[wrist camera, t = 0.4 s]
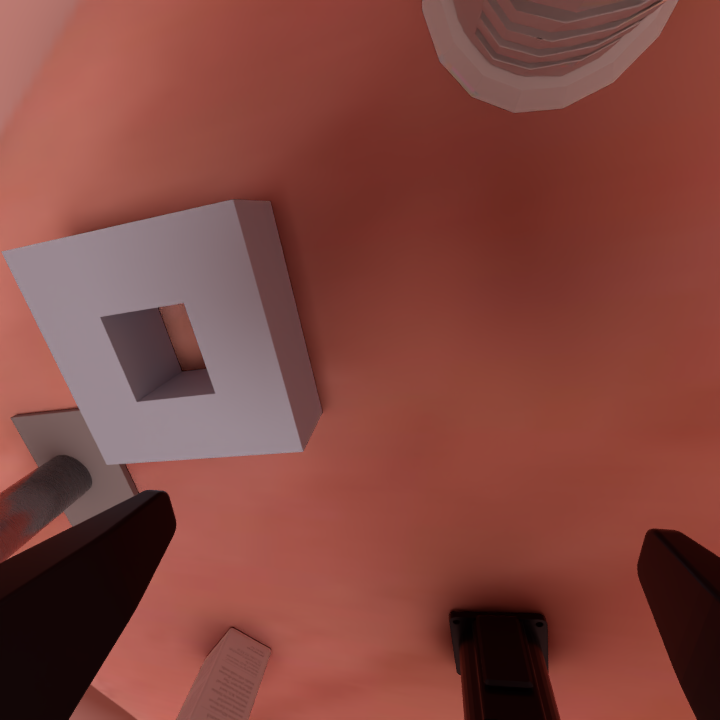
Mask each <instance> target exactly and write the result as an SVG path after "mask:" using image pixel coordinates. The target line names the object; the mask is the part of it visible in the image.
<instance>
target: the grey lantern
mask: <svg viewBox="0 0 720 720" xmlns="http://www.w3.org/2000/svg"><path fill="white" fill-rule="evenodd" d="M677 2H678V0H422V11H423V14H424V17H425V20H426V23H427V26H428V29H429V32H430V35H431V38H432V41H433V43H434V46H435V49H436V52H437V55H438V58H439V61H440V62H441V64H442V65H443V66H444V67H445V68H446V69H447V70H448V71H449V72H450V73H451V75H452V76H453V77H454V78H455V79H456V80H457V81H458V82H459V83H460V85H461V86H462V87H463V88H464V89H465V90H466V91H467V92H468V93H469V94H470V96H471V97H474V98H476V99H479V100H481V101H484V102H487V103H489V104H492V105H494V106H497V107H500V108H502V109H505V110H508V111H510V112H513V113H519V112H530V111H541V110H552V109H563V108H565V107H567V106H569V105H571V104H573V103H574V102H576V101H578V100H580V99H582V98H584V97H586V96H588V95H590V94H592V93H594V92H596V91H598V90H600V89H602V88H604V87H606V86H608V85H609V84H611V83H613V82H614V81H615V80H616V79H617V78H618V77H619V76H620V75H621V74H622V73H623V72H624V71H625V70H626V69H627V68H628V67H629V66H630V65H631V64H632V63H633V62H634V61H635V60H636V59H637V58H638V57H639V56H640V55H641V54H642V53H643V52H644V51H645V50H646V49H647V48H648V47H649V46H650V45H651V44H652V43H653V42H654V41H655V40H656V39H657V38H658V37H659V35H660V34H661V32H662V30H663V28H664V26H665V24H666V22H667V21H668V19H669V17H670V15H671V13H672V11H673V9H674V8H675V6H676V4H677Z"/></svg>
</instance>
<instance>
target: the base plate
mask: <svg viewBox="0 0 720 720" xmlns="http://www.w3.org/2000/svg"><path fill="white" fill-rule="evenodd" d="M11 420H12V421H13V423H14V425H15V427H16V428H17V430H18V432H19V434H20V435H21V437H22V439H23V441H24V442H25V444H26V446H27V448H28V449H29V451H30V453H31V455H32V457H33V458H34V460H35V462H36V464H37V465H38V467H40V466H41V465H43V464H44V463H46V462H47V461H49V460H50V459H52V458H53V457H55V456H57V455H67V456H70V457H73V458H75V459H76V460H78V461H79V462H81V463H82V464H83V465H84V466H85V467H86V468H87V470H88V471H89V473H90V475H91V478H92V486H91V488H90V489H89V490H88V491H87V492H86V493H85V494H84V495H82V496H81V497H80V498H79V499H78V500H76V501H75V502H74V503H73V504H72V505H71V506H69V507H68V508H67V509H66V510H65V511H64V513H65V514H66V516H67V518H68V520H69V521H70V523H71V525H72V527H73V526H75V525H77V524H79V523H81V522H83V521H85V520H87V519H89V518H91V517H93V516H95V515H97V514H99V513H101V512H103V511H105V510H107V509H109V508H111V507H113V506H115V505H117V504H119V503H121V502H123V501H125V500H127V499H129V498H131V497H133V496H135V495H137V494H139V493H138V491H137V489H136V487H135V485H134V483H133V481H132V478H131V476H130V474H129V472H128V470H127V468H126V466H125V464H113V465H107V464H106V462H105V460H104V458H103V456H102V454H101V452H100V450H99V448H98V446H97V444H96V442H95V440H94V438H93V436H92V434H91V432H90V430H89V428H88V426H87V424H86V422H85V420H84V418H83V416H82V414H81V412H80V410H79V408H76V409H67V410H57V411H48V412H39V413H30V414H20V415H15V416H13V417H11Z"/></svg>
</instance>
